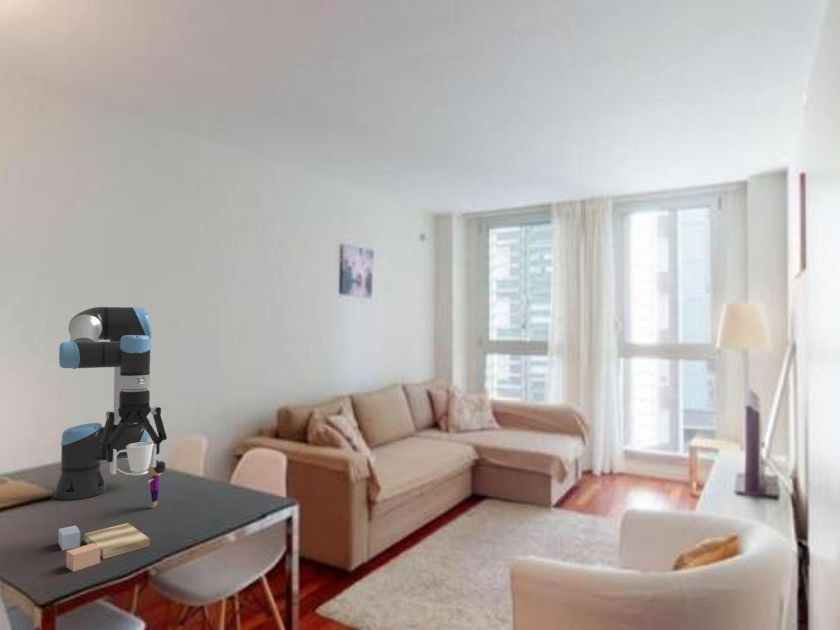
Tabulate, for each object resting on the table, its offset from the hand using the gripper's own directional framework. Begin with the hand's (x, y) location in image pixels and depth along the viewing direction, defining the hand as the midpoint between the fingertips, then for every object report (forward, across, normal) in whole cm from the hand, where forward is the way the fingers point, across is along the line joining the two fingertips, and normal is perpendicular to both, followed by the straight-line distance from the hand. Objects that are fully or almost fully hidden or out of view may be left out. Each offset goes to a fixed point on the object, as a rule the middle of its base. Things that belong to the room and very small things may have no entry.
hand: (133, 469), depth 152 cm
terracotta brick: (+18, -15, -11) cm, 26 cm away
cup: (+1, 0, 0) cm, 1 cm away
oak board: (+18, -5, -3) cm, 19 cm away
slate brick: (+18, -14, +5) cm, 24 cm away
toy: (+18, +14, +19) cm, 30 cm away
